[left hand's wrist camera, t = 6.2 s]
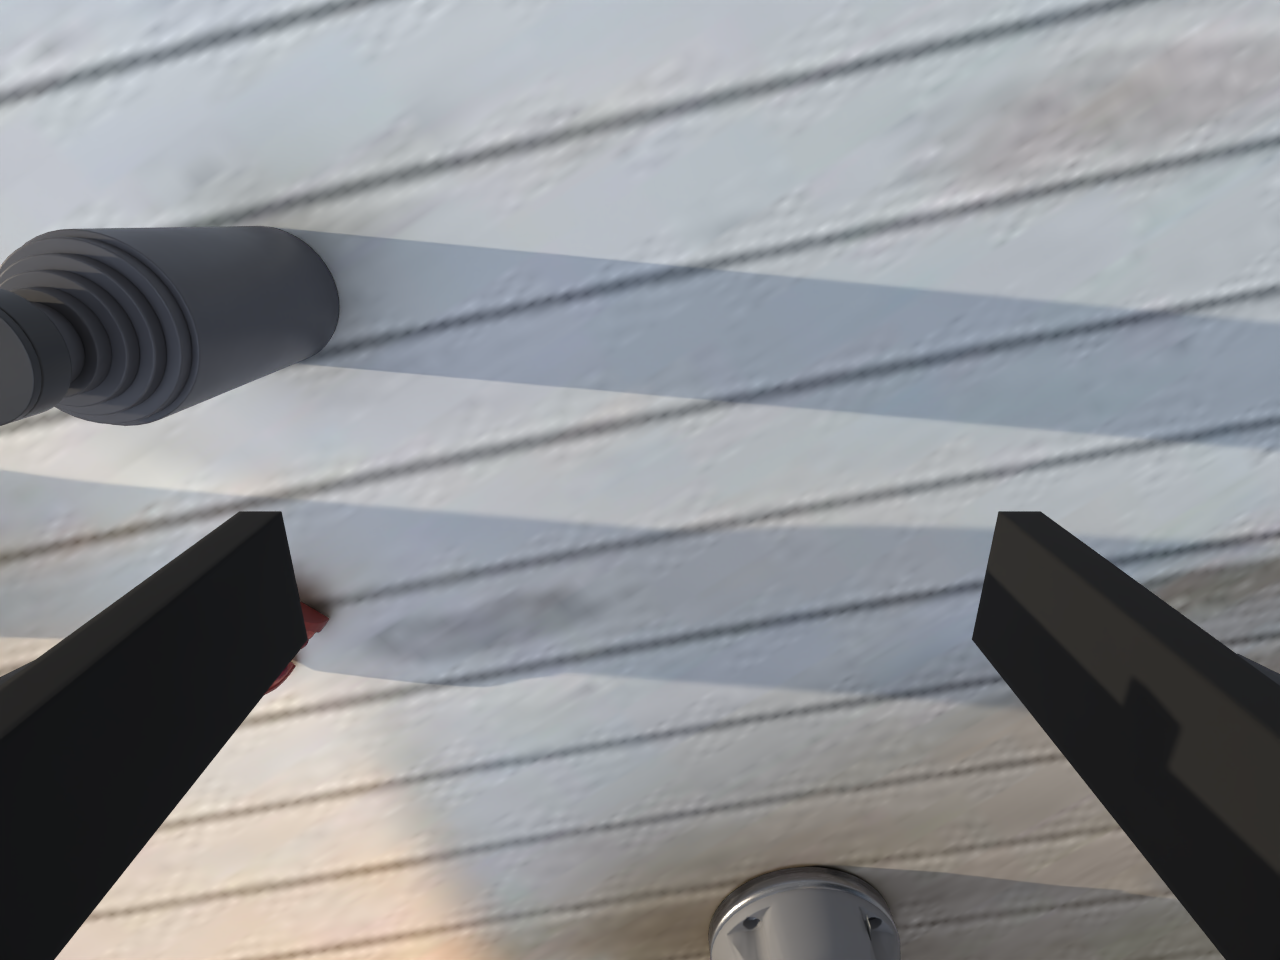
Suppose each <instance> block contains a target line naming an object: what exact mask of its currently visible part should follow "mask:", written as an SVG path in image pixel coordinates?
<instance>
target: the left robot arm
mask: <svg viewBox="0 0 1280 960" xmlns="http://www.w3.org/2000/svg"><path fill="white" fill-rule="evenodd" d="M307 640H308V637H307V632H306V627H305V622H304V618H303V613H302V608H301V603H300V598H299V594H298V589H297V584H296V579H295V574H294V570H293V565H292V560H291V555H290V550H289V546H288V541H287V536H286V531H285V526H284V522H283V517H282V512H238V513H237V514H235V515H234V516H233V517H231V518H230V519H229V520H227V521H226V522H224V523H223V524H222V525H220V526H219V527H218V528H216V529H215V530H213V531H212V532H211V533H209V534H208V535H207V536H205V537H204V538H202V539H201V540H200V541H198V542H197V543H196V544H194V545H193V546H191V547H190V548H189V549H187V550H186V551H185V552H183V553H182V554H180V555H179V556H178V557H176V558H175V559H174V560H172V561H171V562H169V563H168V564H167V565H165V566H164V567H163V568H161V569H160V570H158V571H157V572H156V573H154V574H153V575H152V576H150V577H149V578H147V579H146V580H145V581H143V582H142V583H141V584H139V585H138V586H136V587H135V588H134V589H132V590H131V591H130V592H128V593H127V594H125V595H124V596H123V597H121V598H120V599H119V600H117V601H116V602H114V603H113V604H112V605H110V606H109V607H108V608H106V609H105V610H103V611H102V612H101V613H99V614H98V615H97V616H95V617H94V618H92V619H91V620H90V621H88V622H87V623H86V624H84V625H83V626H81V627H80V628H79V629H77V630H76V631H75V632H73V633H72V634H70V635H69V636H68V637H66V638H65V639H64V640H62V641H61V642H59V643H58V644H57V645H55V646H54V647H53V648H51V649H50V650H48V651H47V652H46V653H44V654H43V655H42V656H40V657H39V658H37V659H36V660H34V661H32V662H30V663H28V664H26V665H24V666H22V667H20V668H18V669H16V670H14V671H12V672H10V673H8V674H6V675H4V676H2V677H0V960H54V959H55V958H56V957H57V956H58V954H59V953H60V952H61V950H62V949H63V948H64V947H65V945H66V944H67V943H68V942H69V940H70V939H71V938H72V937H73V935H74V934H75V933H76V932H77V930H78V929H79V928H80V927H81V925H82V924H83V923H84V921H85V920H86V919H87V918H88V916H89V915H90V914H91V913H92V911H93V910H94V909H95V908H96V906H97V905H98V904H99V903H100V901H101V900H102V899H103V897H104V896H105V895H106V894H107V892H108V891H109V890H110V889H111V887H112V886H113V885H114V884H115V882H116V881H117V880H118V879H119V877H120V876H121V875H122V873H123V872H124V871H125V870H126V868H127V867H128V866H129V865H130V863H131V862H132V861H133V860H134V858H135V857H136V856H137V855H138V853H139V852H140V851H141V850H142V848H143V847H144V846H145V844H146V843H147V842H148V841H149V839H150V838H151V837H152V836H153V834H154V833H155V832H156V831H157V829H158V828H159V827H160V826H161V824H162V823H163V822H164V820H165V819H166V818H167V817H168V815H169V814H170V813H171V812H172V810H173V809H174V808H175V807H176V805H177V804H178V803H179V802H180V800H181V799H182V798H183V797H184V795H185V794H186V793H187V791H188V790H189V789H190V788H191V786H192V785H193V784H194V783H195V781H196V780H197V779H198V778H199V776H200V775H201V774H202V773H203V771H204V770H205V769H206V767H207V766H208V765H209V764H210V762H211V761H212V760H213V759H214V757H215V756H216V755H217V754H218V752H219V751H220V750H221V749H222V747H223V746H224V745H225V744H226V742H227V741H228V740H229V738H230V737H231V736H232V735H233V733H234V732H235V731H236V730H237V728H238V727H239V726H240V725H241V723H242V722H243V721H244V720H245V718H246V717H247V716H248V714H249V713H250V712H251V711H252V709H253V708H254V707H255V706H256V704H257V703H258V702H259V701H260V699H261V698H262V697H263V696H264V694H265V693H266V692H267V691H268V689H269V688H270V687H271V685H272V684H273V683H274V682H275V680H276V679H277V678H278V677H279V675H280V674H281V673H282V672H283V670H284V669H285V668H286V667H287V665H288V664H289V663H290V661H291V660H292V659H293V658H294V656H295V655H296V654H297V653H298V651H299V650H300V649H301V648H302V646H303V645H304V644H305V643H306V641H307ZM972 640H973V641H974V643H975V644H976V645H977V646H978V648H979V649H980V650H981V651H982V653H983V654H984V655H985V656H986V658H987V659H988V660H989V661H990V663H991V664H992V665H993V667H994V668H995V669H996V670H997V672H998V673H999V674H1000V675H1001V677H1002V678H1003V679H1004V680H1005V682H1006V683H1007V684H1008V685H1009V687H1010V688H1011V689H1012V691H1013V692H1014V693H1015V694H1016V696H1017V697H1018V698H1019V699H1020V701H1021V702H1022V703H1023V704H1024V706H1025V707H1026V708H1027V709H1028V711H1029V712H1030V713H1031V714H1032V716H1033V717H1034V718H1035V720H1036V721H1037V722H1038V723H1039V725H1040V726H1041V727H1042V728H1043V730H1044V731H1045V732H1046V733H1047V735H1048V736H1049V737H1050V738H1051V740H1052V741H1053V742H1054V744H1055V745H1056V746H1057V747H1058V749H1059V750H1060V751H1061V752H1062V754H1063V755H1064V756H1065V757H1066V759H1067V760H1068V761H1069V762H1070V764H1071V765H1072V766H1073V767H1074V769H1075V770H1076V771H1077V773H1078V774H1079V775H1080V776H1081V778H1082V779H1083V780H1084V781H1085V783H1086V784H1087V785H1088V786H1089V788H1090V789H1091V790H1092V791H1093V793H1094V794H1095V795H1096V797H1097V798H1098V799H1099V800H1100V802H1101V803H1102V804H1103V805H1104V807H1105V808H1106V809H1107V810H1108V812H1109V813H1110V814H1111V815H1112V817H1113V818H1114V819H1115V820H1116V822H1117V823H1118V824H1119V826H1120V827H1121V828H1122V829H1123V831H1124V832H1125V833H1126V834H1127V836H1128V837H1129V838H1130V839H1131V841H1132V842H1133V843H1134V844H1135V846H1136V847H1137V848H1138V850H1139V851H1140V852H1141V853H1142V855H1143V856H1144V857H1145V858H1146V860H1147V861H1148V862H1149V863H1150V865H1151V866H1152V867H1153V868H1154V870H1155V871H1156V872H1157V873H1158V875H1159V876H1160V877H1161V879H1162V880H1163V881H1164V882H1165V884H1166V885H1167V886H1168V887H1169V889H1170V890H1171V891H1172V892H1173V894H1174V895H1175V896H1176V897H1177V899H1178V900H1179V901H1180V903H1181V904H1182V905H1183V906H1184V908H1185V909H1186V910H1187V911H1188V913H1189V914H1190V915H1191V916H1192V918H1193V919H1194V920H1195V921H1196V923H1197V924H1198V925H1199V927H1200V928H1201V929H1202V930H1203V932H1204V933H1205V934H1206V935H1207V937H1208V938H1209V939H1210V940H1211V942H1212V943H1213V944H1214V945H1215V947H1216V948H1217V949H1218V950H1219V952H1220V953H1221V954H1222V956H1223V957H1224V958H1225V959H1226V960H1280V674H1278V673H1276V672H1274V671H1272V670H1270V669H1268V668H1266V667H1264V666H1262V665H1260V664H1258V663H1256V662H1254V661H1252V660H1250V659H1248V658H1246V657H1244V656H1242V655H1240V654H1236V653H1234V652H1233V651H1232V650H1230V649H1229V648H1227V647H1226V646H1225V645H1223V644H1222V643H1221V642H1219V641H1218V640H1216V639H1215V638H1214V637H1212V636H1211V635H1210V634H1208V633H1207V632H1205V631H1204V630H1203V629H1201V628H1200V627H1199V626H1197V625H1196V624H1194V623H1193V622H1192V621H1190V620H1189V619H1188V618H1186V617H1185V616H1183V615H1182V614H1181V613H1179V612H1178V611H1177V610H1175V609H1174V608H1172V607H1171V606H1170V605H1168V604H1167V603H1166V602H1164V601H1163V600H1161V599H1160V598H1159V597H1157V596H1156V595H1155V594H1153V593H1152V592H1150V591H1149V590H1148V589H1146V588H1145V587H1144V586H1142V585H1141V584H1139V583H1138V582H1137V581H1135V580H1134V579H1133V578H1131V577H1130V576H1128V575H1127V574H1126V573H1124V572H1123V571H1122V570H1120V569H1119V568H1117V567H1116V566H1115V565H1113V564H1112V563H1111V562H1109V561H1108V560H1106V559H1105V558H1104V557H1102V556H1101V555H1100V554H1098V553H1097V552H1095V551H1094V550H1093V549H1091V548H1090V547H1089V546H1087V545H1086V544H1084V543H1083V542H1082V541H1080V540H1079V539H1078V538H1076V537H1075V536H1073V535H1072V534H1071V533H1069V532H1068V531H1067V530H1065V529H1064V528H1062V527H1061V526H1060V525H1058V524H1057V523H1056V522H1054V521H1053V520H1051V519H1050V518H1049V517H1047V516H1046V515H1045V514H1043V513H1042V512H998V517H997V522H996V526H995V531H994V536H993V541H992V546H991V550H990V555H989V560H988V565H987V570H986V574H985V579H984V584H983V589H982V594H981V598H980V603H979V608H978V613H977V618H976V622H975V627H974V632H973V637H972ZM709 948H710V959H711V960H900V939H899V935H898V932H897V929H896V926H895V923H894V920H893V918H892V915H891V912H890V909H889V907H888V905H887V903H886V901H885V900H884V898H883V897H882V896H881V895H880V894H879V892H878V891H877V890H875V889H874V888H873V887H872V886H871V885H869V884H868V883H866V882H865V881H863V880H861V879H860V878H857V877H855V876H853V875H851V874H848V873H845V872H841V871H838V870H833V869H828V868H819V867H797V868H788V869H783V870H778V871H774V872H770V873H767V874H764V875H761V876H759V877H757V878H754V879H752V880H750V881H748V882H746V883H745V884H743V885H741V886H740V887H738V888H737V889H736V890H734V891H733V892H732V893H731V894H730V895H728V896H727V897H726V898H725V899H724V901H723V902H722V903H721V904H720V905H719V907H718V908H717V910H716V911H715V913H714V915H713V917H712V920H711V923H710V927H709Z"/></svg>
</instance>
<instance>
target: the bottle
mask: <svg viewBox="0 0 1280 960" xmlns="http://www.w3.org/2000/svg"><path fill="white" fill-rule="evenodd" d="M0 288H1V289H4V290H7V291H10V292H13V293H15V294H17V295H19V296H21V297H23V298H25V299H27V300H28V301H30V302H31V303H32V304H34V305H35V306H36V307H38V308H39V309H40V310H41V311H42V312H43V313H44V314H45V315H46V316H47V317H48V318H49V319H50V320H51V321H52V322H53V323H54V325H55V326H56V327H57V329H58V330H59V332H60V334H61V335H62V337H63V339H64V341H65V343H66V345H67V348H68V350H69V353H70V358H71V365H72V377H71V383H70V386H69V388H68V391H67V393H66V394H65V396H64V397H63V399H62V400H61V401H60V402H59V403H58V404H57V405H55V406H54V407H56V408H58V409H59V410H61V411H63V412H65V413H68V414H70V415H72V416H74V417H77V418H81V419H84V420H87V421H92V422H97V423H105V424H112V425H123V426H130V425H141V424H147V423H151V422H154V421H157V420H160V419H162V418H165V417H167V416H169V415H172V414H174V413H177V412H179V411H181V410H184V409H186V408H189V407H191V406H194V405H196V404H198V403H201V402H203V401H206V400H208V399H210V398H213V397H215V396H218V395H220V394H222V393H225V392H227V391H230V390H232V389H235V388H237V387H239V386H242V385H244V384H247V383H249V382H251V381H254V380H256V379H259V378H261V377H263V376H266V375H268V374H271V373H273V372H276V371H278V370H280V369H283V368H285V367H288V366H290V365H292V364H295V363H297V362H300V361H302V360H304V359H307V358H309V357H311V356H313V355H315V354H316V353H317V352H319V351H320V350H321V349H322V348H323V347H324V346H325V345H326V344H327V343H328V341H329V340H330V339H331V337H332V335H333V333H334V331H335V328H336V325H337V321H338V316H339V299H338V294H337V289H336V286H335V283H334V280H333V278H332V276H331V273H330V271H329V270H328V268H327V266H326V265H325V263H324V262H323V261H322V259H321V258H320V257H319V255H318V254H317V253H316V252H315V251H314V250H313V249H312V248H311V247H309V246H308V245H307V244H306V243H305V242H303V241H302V240H300V239H299V238H297V237H296V236H294V235H292V234H290V233H288V232H285V231H282V230H279V229H276V228H271V227H264V226H237V227H170V228H104V229H63V230H56V231H51V232H47V233H45V234H42V235H39V236H37V237H35V238H33V239H32V240H30V241H28V242H26V243H25V244H24V245H23V246H22V247H20V248H19V249H17V250H16V251H14V252H13V253H12V254H11V255H10V256H9V257H7V259H6V260H5V261H4V262H3V263H2V265H1V266H0Z"/></svg>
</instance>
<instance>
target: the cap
mask: <svg viewBox="0 0 1280 960" xmlns="http://www.w3.org/2000/svg"><path fill="white" fill-rule="evenodd" d="M71 377H72V365H71V358H70V353H69V350H68V348H67V345H66V343H65V341H64V339H63V337H62V335H61V334H60V332H59V330H58V329H57V327H56V326H55V325H54V323H53V322H52V321H51V320H50V319H49V318H48V317H47V316H46V315H45V314H44V313H43V312H42V311H41V310H40V309H39V308H38V307H36V306H35V305H34V304H32V303H31V302H30V301H28V300H27V299H25V298H23V297H21V296H19V295H17V294H15V293H13V292H10V291H7V290H4V289H1V288H0V426H2V425H5V424H8V423H11V422H14V421H17V420H21V419H24V418H27V417H30V416H33V415H36V414H39V413H42V412H45V411H47V410H49V409H51V408H53V407H54V406H55V405H57V404H58V403H59V402H60V401H61V400H62V399H63V397H64V396H65V394H66V393H67V391H68V388H69V386H70V383H71Z"/></svg>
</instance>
